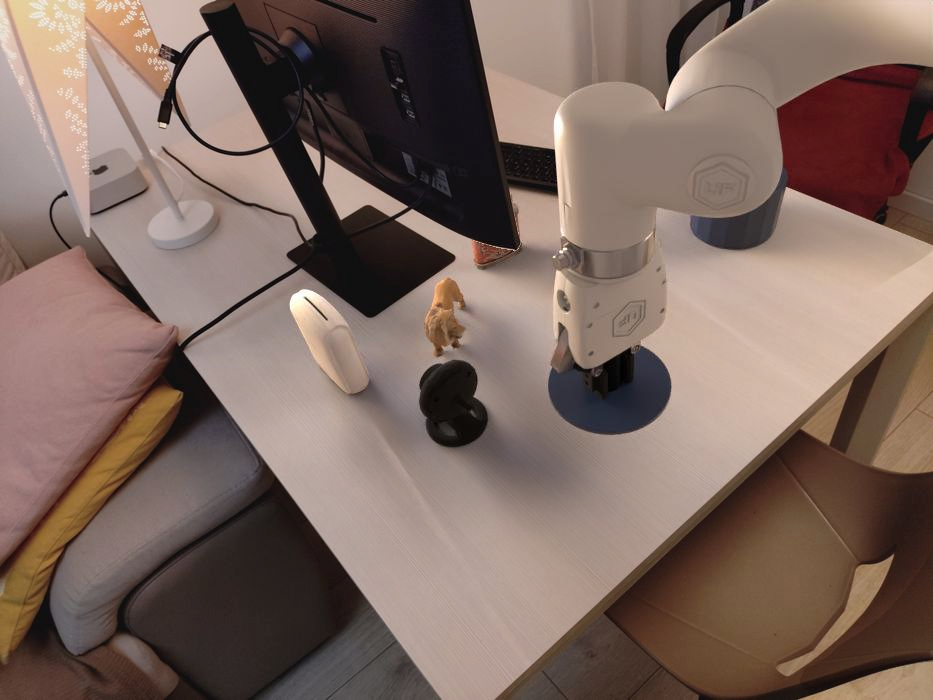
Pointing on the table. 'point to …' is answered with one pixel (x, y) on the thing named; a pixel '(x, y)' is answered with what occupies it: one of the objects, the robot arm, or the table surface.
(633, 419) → the lid
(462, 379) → the webcam
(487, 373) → the table surface
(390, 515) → the table surface
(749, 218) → the tin
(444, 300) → the lion figurine
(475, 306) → the table surface
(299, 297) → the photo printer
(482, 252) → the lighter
